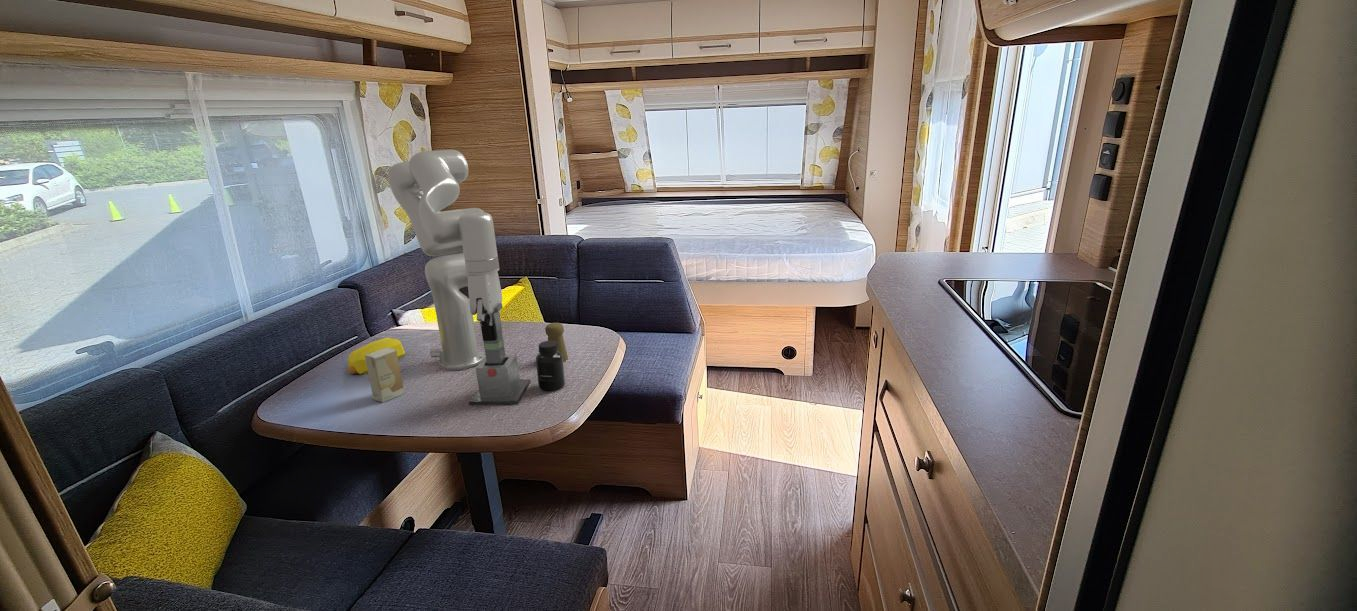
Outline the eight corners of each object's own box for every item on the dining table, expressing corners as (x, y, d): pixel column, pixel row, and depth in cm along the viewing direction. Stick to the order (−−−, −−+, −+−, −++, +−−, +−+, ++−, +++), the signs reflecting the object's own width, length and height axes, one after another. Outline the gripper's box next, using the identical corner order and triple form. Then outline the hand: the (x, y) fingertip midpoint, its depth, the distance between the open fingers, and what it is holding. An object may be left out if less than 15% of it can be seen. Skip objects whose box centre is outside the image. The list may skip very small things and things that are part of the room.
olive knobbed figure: (563, 364, 162) (559, 328, 159) (543, 363, 163) (539, 327, 160) (571, 355, 168) (567, 320, 164) (552, 354, 169) (548, 320, 166)
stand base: (469, 405, 140) (463, 372, 138) (485, 383, 152) (481, 352, 149) (517, 404, 140) (513, 370, 137) (530, 382, 152) (526, 351, 149)
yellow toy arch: (341, 375, 161) (360, 379, 158) (336, 353, 159) (354, 357, 156) (395, 351, 176) (413, 355, 173) (390, 331, 174) (409, 334, 171)
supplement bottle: (542, 394, 145) (537, 351, 141) (536, 384, 150) (530, 342, 147) (569, 388, 148) (564, 345, 144) (561, 378, 153) (556, 337, 150)
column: (484, 372, 142) (474, 308, 137) (489, 365, 146) (479, 303, 140) (506, 371, 142) (497, 308, 137) (510, 365, 145) (502, 303, 140)
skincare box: (382, 403, 143) (372, 358, 139) (372, 399, 145) (362, 355, 141) (406, 393, 148) (397, 349, 144) (396, 389, 150) (387, 346, 147)
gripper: (478, 257, 143) (489, 325, 149) (453, 274, 128) (465, 350, 133) (508, 256, 143) (517, 325, 149) (486, 273, 127) (497, 349, 133)
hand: (492, 336), depth 141 cm, fingers closed on column, 3 cm apart
